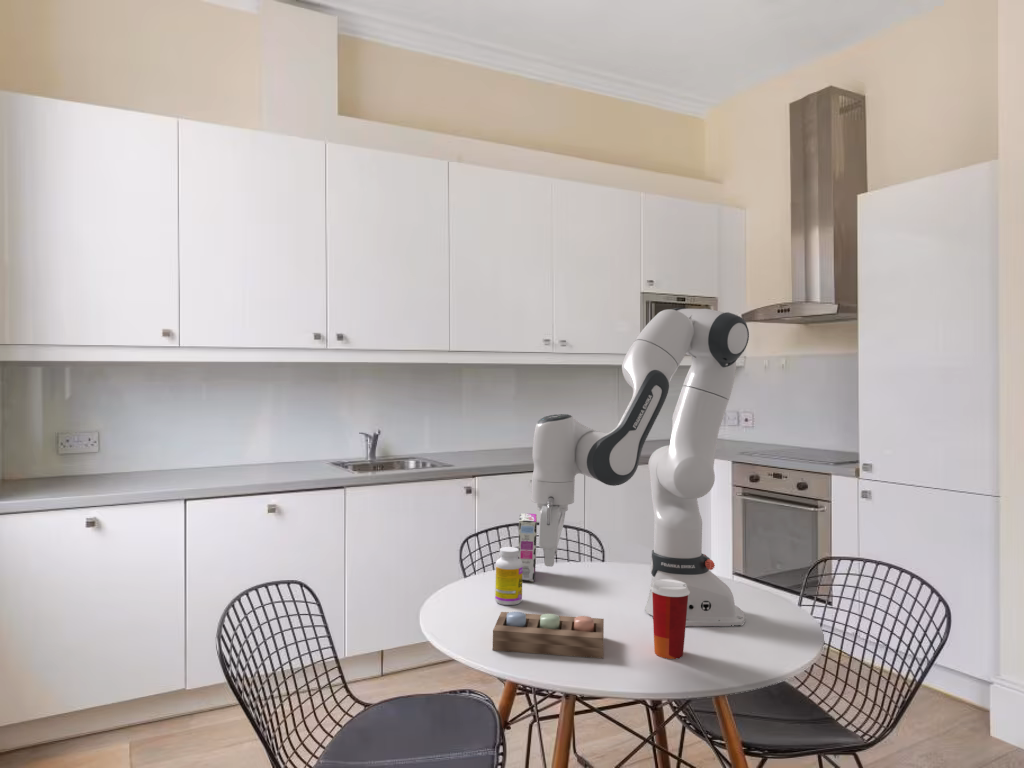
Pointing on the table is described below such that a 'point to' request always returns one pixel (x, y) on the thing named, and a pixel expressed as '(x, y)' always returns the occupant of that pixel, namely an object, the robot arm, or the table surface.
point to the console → (549, 637)
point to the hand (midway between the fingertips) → (551, 560)
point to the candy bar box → (527, 545)
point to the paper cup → (669, 617)
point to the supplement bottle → (508, 577)
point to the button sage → (549, 621)
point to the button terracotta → (584, 624)
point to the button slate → (516, 619)
